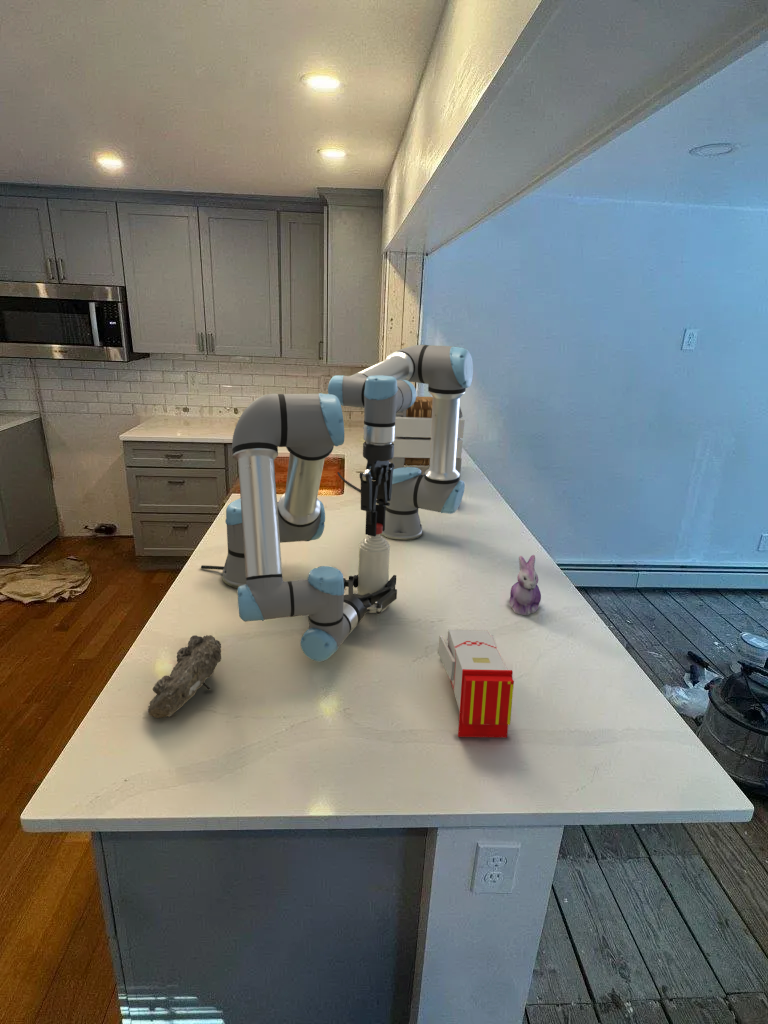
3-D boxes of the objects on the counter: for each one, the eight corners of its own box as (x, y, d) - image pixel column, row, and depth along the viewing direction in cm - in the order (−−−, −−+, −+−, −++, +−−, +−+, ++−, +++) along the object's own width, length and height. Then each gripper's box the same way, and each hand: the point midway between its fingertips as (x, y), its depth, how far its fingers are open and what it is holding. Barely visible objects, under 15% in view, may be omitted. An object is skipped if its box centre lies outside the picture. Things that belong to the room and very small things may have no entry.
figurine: (523, 619, 147) (531, 567, 142) (498, 602, 156) (505, 552, 150) (551, 612, 151) (559, 561, 146) (525, 595, 160) (532, 546, 155)
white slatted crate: (382, 463, 289) (386, 382, 275) (445, 464, 293) (451, 384, 279) (390, 482, 257) (394, 392, 243) (460, 483, 261) (468, 394, 247)
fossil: (175, 637, 125) (222, 606, 120) (205, 666, 128) (253, 637, 123) (125, 712, 105) (179, 678, 100) (162, 744, 108) (217, 713, 103)
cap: (365, 533, 143) (366, 526, 142) (370, 528, 146) (370, 521, 146) (380, 535, 142) (380, 528, 141) (384, 530, 145) (384, 523, 145)
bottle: (352, 609, 149) (355, 529, 141) (362, 595, 156) (365, 519, 148) (382, 615, 147) (386, 534, 139) (390, 600, 154) (394, 523, 146)
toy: (488, 613, 130) (523, 677, 101) (484, 667, 133) (517, 744, 104) (435, 612, 130) (455, 676, 101) (432, 666, 133) (451, 743, 103)
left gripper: (305, 619, 138) (344, 581, 158) (385, 639, 131) (415, 596, 151) (304, 592, 135) (344, 556, 155) (386, 610, 129) (417, 571, 149)
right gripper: (382, 434, 145) (378, 519, 153) (346, 445, 131) (344, 539, 139) (408, 438, 142) (403, 525, 149) (374, 450, 128) (371, 546, 136)
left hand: (379, 576), depth 153 cm, fingers closed on bottle, 8 cm apart
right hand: (375, 532), depth 144 cm, fingers closed on cap, 4 cm apart
